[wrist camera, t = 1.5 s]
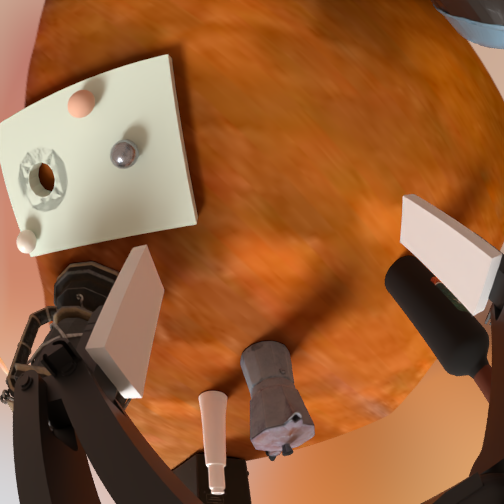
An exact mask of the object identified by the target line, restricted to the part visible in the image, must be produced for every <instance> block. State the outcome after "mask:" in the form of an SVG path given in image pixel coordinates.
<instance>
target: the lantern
mask: <svg viewBox="0 0 504 504" xmlns="http://www.w3.org/2000/svg"><path fill="white" fill-rule="evenodd" d="M118 275H119V272H118V271H116V270H113V269H111V268H108V267H106V266H103V265H101V264H98V263H96V262H93V261H90V262H81V263H72V264H70V265H69V266H68V267H67V268H66V269H65V270H64V271H63V272H62V273H61V274H60V275H59V276H58V277H57V282H56V283H55V285H54V304H55V306H47V307H45V308H43V309H41V310H39V311H37V312H35V313H32V314H31V315H30V316H29V320H28V323H27V325H26V327H25V330H24V332H23V335H22V337H21V340H20V342H19V343H18V348H17V350H16V353H15V356H14V359H13V362H12V365H11V368H10V371H9V374H8V376H7V378H6V384H7V385H8V387H9V389H8V390H4V391H3V392H2V395H1V396H0V400H1V402H2V403H4V404H7V403H8V405H9V407H10V408H11V410H12V412H13V402H14V398H13V397H14V388H15V383H16V381H17V379H18V377H19V376H21V374H22V373H24V372H26V371H28V370H35V371H36V372H37V373H38V374H39V375H40V376H41V378H43V377H47V376H50V375H51V374H50V373H49V371H48V370H47V369H46V368H45V367H44V365H43V364H42V363H41V362H40V356H41V353H42V351H43V349H44V348H45V347H46V345H48V344H49V343H50V342H51V341H53V340H55V339H57V338H62V337H63V338H67V339H68V340H69V341H70V342H71V344H72V345H73V347H74V348H75V349H76V348H77V345H78V343H79V341H80V339H81V336H82V334H83V332H84V330H85V327H86V325H88V321H89V319H90V317H91V315H92V313H93V312H94V311H95V310H96V309H97V308H98V307H99V306H102V305H104V304H105V302H106V300H107V298H108V296H109V293H110V291H111V289H112V287H113V285H114V283H115V281H116V279H117V277H118ZM50 321H53V323H51V324H50V329H51V331H50V332H49V334H48V335H47V336H46V338H45V340H44V342H43V343H42V344H41V345H40V346H39V348H38V349H37V350H36V352H35V353H34V354H33V356H32V357H31V359H30V360H29V361H28V357H29V355H30V354H31V348H32V345H33V342H34V339H35V337H36V334H37V331H38V328H39V327H40V326H41V325H43V324H45V323H48V322H50ZM34 359H35V360H34ZM27 361H28V362H27ZM30 362H31V365H28V364H29V363H30ZM5 393H6V394H7V395H6V394H5ZM9 393H10V394H11V396H12V397H10V395H9ZM3 398H4V399H5V401H4V400H3ZM9 399H10V400H9ZM115 399H116V400H117V401H118V402H119V403H120V405H121V406H122V408H123V409H124V411H125V409H126V407H127V406H128V404H129V402H130V401H131V399H132V398H129V399H128V400H127V398H124V397H123V396H122V395H121V394H120V393H119V391H118V390H117V391H116V395H115ZM11 400H12V401H11ZM126 400H127V402H126ZM125 402H126V403H125Z"/></svg>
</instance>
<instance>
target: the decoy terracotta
mask: <svg viewBox="0 0 504 504" xmlns="http://www.w3.org/2000/svg"><path fill="white" fill-rule="evenodd" d="M94 106H95V98H94V95H93V94H92V93H91V92H90V91H88V90H79V91H77V92H75V93H74V94H73V95H72V96H71V97H70V99H69V101H68V111H69V113H70V114H71V115H72V116H73V117H76V118H82V117H85V116H87V115H88V114H90V113H91V111H92V110H93V108H94Z"/></svg>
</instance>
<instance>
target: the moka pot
mask: <svg viewBox="0 0 504 504" xmlns="http://www.w3.org/2000/svg"><path fill="white" fill-rule="evenodd" d="M240 365H241V368H242V371H243V374H244V376H245V379H246V382H247V385H248V388H249V391H250V393H251V400H250V440H251V442H252V444H253V445H254V447H255V449H256V450H263V451H266V455H267V456H269V459H270V460H271V461H274V460H275V458H276V456H277V455H280V453H281V452H282V454H283V456H287V455H291V454H292V453H293V450H292V448H294V447H298V446H300V445H301V444H303V443H304V442H306V441H307V440H309V439H311V438H312V437H313V436H314V435H315V432H314V423H313V421H312V419H311V417H310V415H309V413H308V411H307V409H306V407H305V405H304V402H303V400H302V398H301V396H300V394H299V392H298V390H297V389H295V386H294V379H293V372H292V364H291V358H290V353H289V351H288V349H287V348H286V346H285V345H284V344H281V343H279V342H276V341H262V342H259V343H256V344H253V345H251V346H250V347H248V348H247V349H246V350H245V351H244V352H243V353H242V355H241V361H240Z"/></svg>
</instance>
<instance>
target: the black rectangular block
mask: <svg viewBox="0 0 504 504" xmlns="http://www.w3.org/2000/svg"><path fill="white" fill-rule="evenodd" d="M172 472H173V473H174V474H175V475H176V476H177V477H178V478H179V479H180V480H181V481H182V482H183V483H184V485H185V486H186V487H187V488H188V489H189V490H190V491H191V492H192V493H193V494H194V495H195V496H196V497H197V498H198V499H200V500H201V501H202V502H203V503H204V504H251V497H250V489H249V482H248V475H249V472H248V471H247V466H246V461H245V460H242V459H237V458H235V459H232V458H226V466H225V467H224V476H225V489H224V490H223V491H224V494H212V493H211V491H212V490H211V489H210V488H209V472H208V467H207V466H206V462H205V454H198V453H197V454H196V455H194V456H193V457H192V458H190V459H189V460H187V461H186V462H185V463H183V464H182V465H180V466H179V467H178V468H176V469H175V470H173V471H172Z"/></svg>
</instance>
